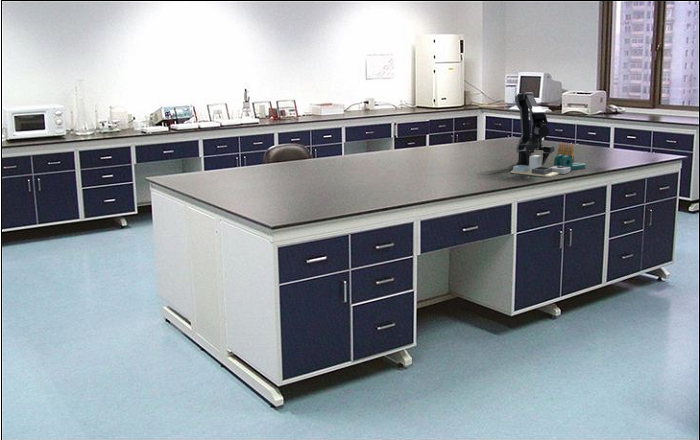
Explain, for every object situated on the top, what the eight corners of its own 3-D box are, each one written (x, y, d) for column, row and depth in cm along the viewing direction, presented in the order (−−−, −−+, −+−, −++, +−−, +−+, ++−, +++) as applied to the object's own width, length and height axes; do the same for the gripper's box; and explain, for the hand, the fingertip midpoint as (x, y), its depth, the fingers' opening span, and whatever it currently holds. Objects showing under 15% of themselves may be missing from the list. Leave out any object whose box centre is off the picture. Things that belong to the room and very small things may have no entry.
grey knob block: (549, 172, 373) (549, 166, 373) (555, 170, 379) (556, 164, 379) (564, 174, 369) (564, 168, 368) (570, 171, 374) (570, 166, 374)
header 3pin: (512, 170, 375) (513, 166, 375) (519, 168, 380) (519, 164, 380) (523, 172, 371) (523, 167, 371) (529, 170, 377) (529, 165, 376)
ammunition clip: (573, 164, 396) (575, 143, 393) (571, 165, 395) (572, 143, 392) (558, 162, 405) (559, 141, 402) (556, 162, 404) (557, 141, 401)
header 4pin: (531, 173, 368) (531, 169, 367) (539, 170, 374) (539, 166, 374) (544, 174, 363) (544, 170, 363) (551, 172, 370) (552, 168, 369)
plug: (528, 169, 384) (529, 156, 382) (534, 167, 389) (535, 154, 387) (535, 170, 381) (536, 157, 380) (541, 168, 386) (542, 155, 385)
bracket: (562, 171, 378) (563, 156, 376) (553, 169, 383) (554, 154, 382) (588, 168, 386) (589, 153, 384) (578, 166, 391) (579, 152, 389)
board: (510, 172, 374) (510, 171, 374) (519, 169, 382) (519, 168, 382) (550, 177, 361) (550, 175, 361) (558, 174, 368) (558, 172, 368)
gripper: (513, 135, 380) (512, 164, 384) (546, 138, 369) (544, 168, 372) (523, 133, 389) (521, 161, 392) (555, 135, 377) (554, 165, 381)
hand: (535, 164), depth 384 cm, fingers open, 9 cm apart
